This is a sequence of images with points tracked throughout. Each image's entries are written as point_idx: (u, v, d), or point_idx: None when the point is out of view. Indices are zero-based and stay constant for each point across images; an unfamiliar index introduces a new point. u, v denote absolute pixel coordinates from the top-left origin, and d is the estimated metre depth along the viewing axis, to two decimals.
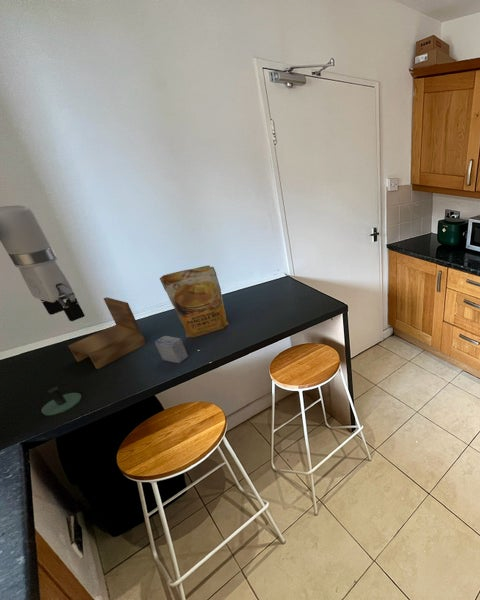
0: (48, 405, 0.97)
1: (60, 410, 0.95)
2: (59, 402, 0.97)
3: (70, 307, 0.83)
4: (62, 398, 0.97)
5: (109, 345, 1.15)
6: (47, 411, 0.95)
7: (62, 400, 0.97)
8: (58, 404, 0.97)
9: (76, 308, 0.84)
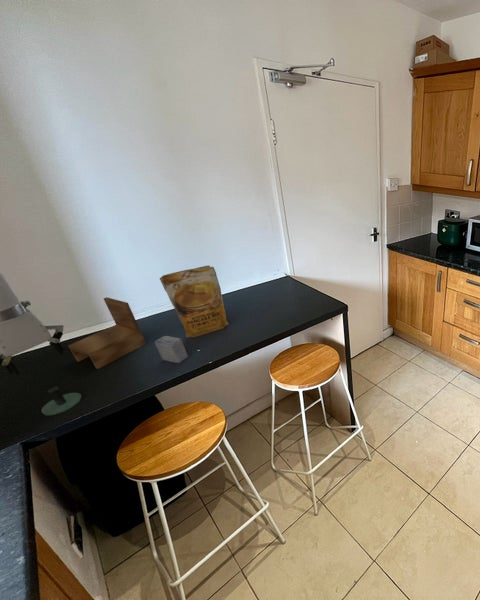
0: (48, 405, 0.97)
1: (60, 410, 0.95)
2: (59, 402, 0.97)
3: (1, 364, 0.85)
4: (62, 398, 0.97)
5: (109, 345, 1.15)
6: (47, 411, 0.95)
7: (62, 400, 0.97)
8: (58, 404, 0.97)
9: (5, 367, 0.85)
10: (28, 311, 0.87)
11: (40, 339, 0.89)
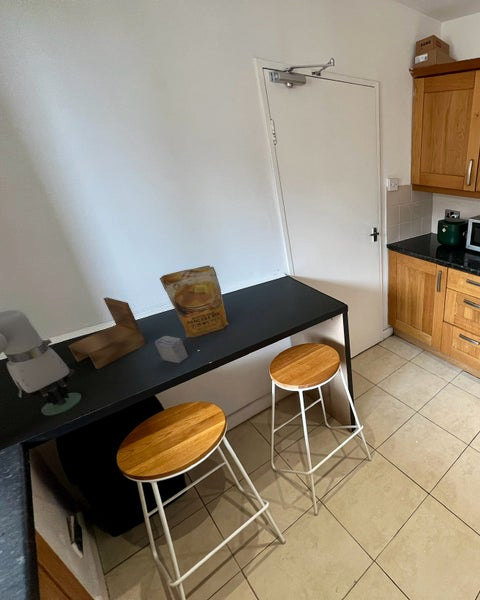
0: (48, 405, 0.97)
1: (60, 410, 0.95)
2: (59, 402, 0.97)
3: (41, 395, 0.94)
4: (62, 398, 0.97)
5: (109, 345, 1.15)
6: (47, 411, 0.95)
7: (62, 400, 0.97)
8: (58, 404, 0.97)
9: (45, 398, 0.94)
10: (49, 349, 0.92)
11: (60, 374, 0.95)
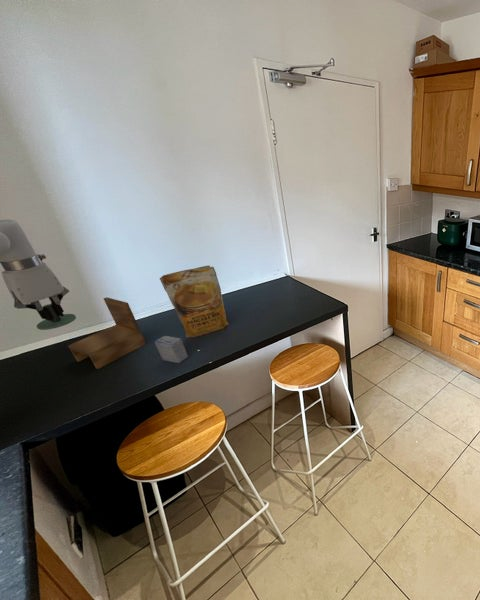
0: (43, 322, 1.00)
1: (55, 325, 0.98)
2: (54, 319, 0.99)
3: (36, 309, 0.96)
4: (57, 315, 1.00)
5: (109, 345, 1.15)
6: (42, 326, 0.97)
7: (57, 317, 1.00)
8: (53, 321, 0.99)
9: (40, 312, 0.96)
10: (43, 264, 0.95)
11: (54, 290, 0.97)
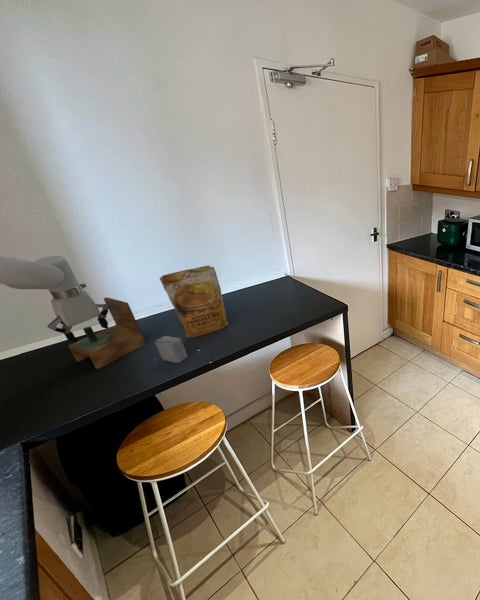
0: (83, 342, 1.15)
1: (93, 345, 1.13)
2: (92, 339, 1.15)
3: None
4: (94, 336, 1.15)
5: (109, 345, 1.15)
6: (82, 346, 1.13)
7: (94, 338, 1.15)
8: (91, 341, 1.15)
9: (66, 335, 1.08)
10: (84, 291, 1.10)
11: (92, 314, 1.13)
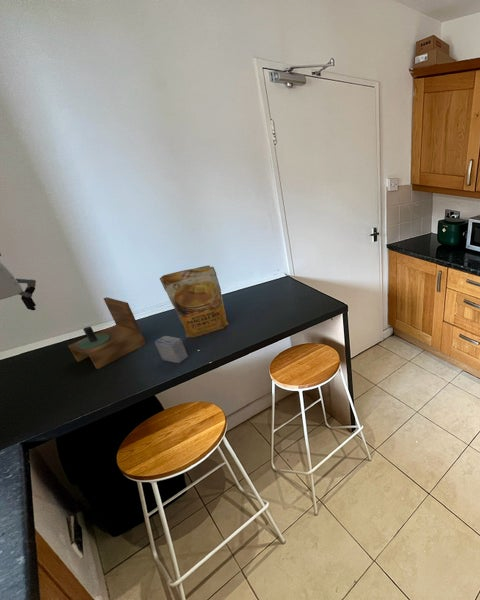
0: (83, 342, 1.15)
1: (93, 345, 1.13)
2: (92, 339, 1.15)
3: None
4: (94, 336, 1.15)
5: (109, 345, 1.15)
6: (82, 346, 1.13)
7: (94, 338, 1.15)
8: (91, 341, 1.15)
9: None
10: None
11: (11, 291, 0.89)
